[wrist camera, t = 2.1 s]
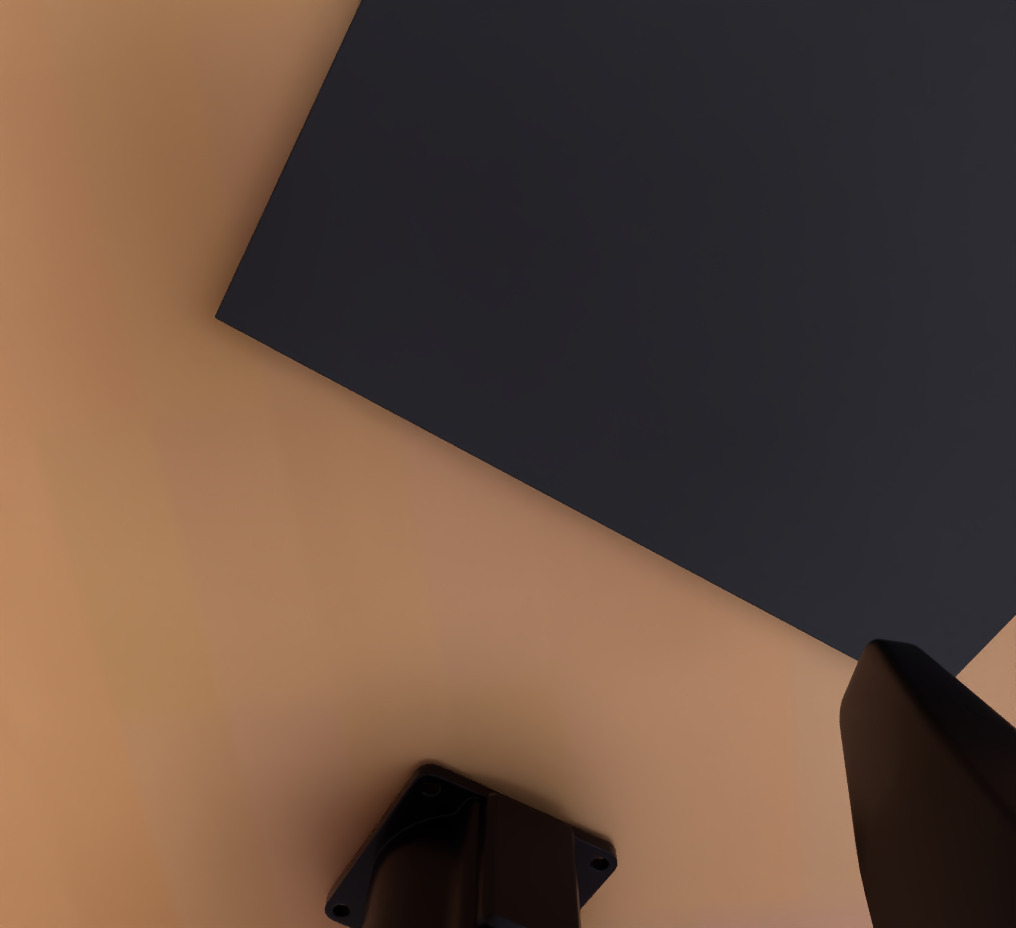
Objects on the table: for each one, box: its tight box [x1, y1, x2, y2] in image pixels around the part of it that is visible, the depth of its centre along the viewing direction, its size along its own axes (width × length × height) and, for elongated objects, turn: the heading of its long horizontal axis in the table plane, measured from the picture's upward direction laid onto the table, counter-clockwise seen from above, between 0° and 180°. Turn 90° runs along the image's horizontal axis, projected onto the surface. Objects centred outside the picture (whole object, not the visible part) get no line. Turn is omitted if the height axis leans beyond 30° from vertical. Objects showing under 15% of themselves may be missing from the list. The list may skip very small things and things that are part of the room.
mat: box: [215, 0, 1016, 677], centre depth 19 cm, size 18×20×1 cm
